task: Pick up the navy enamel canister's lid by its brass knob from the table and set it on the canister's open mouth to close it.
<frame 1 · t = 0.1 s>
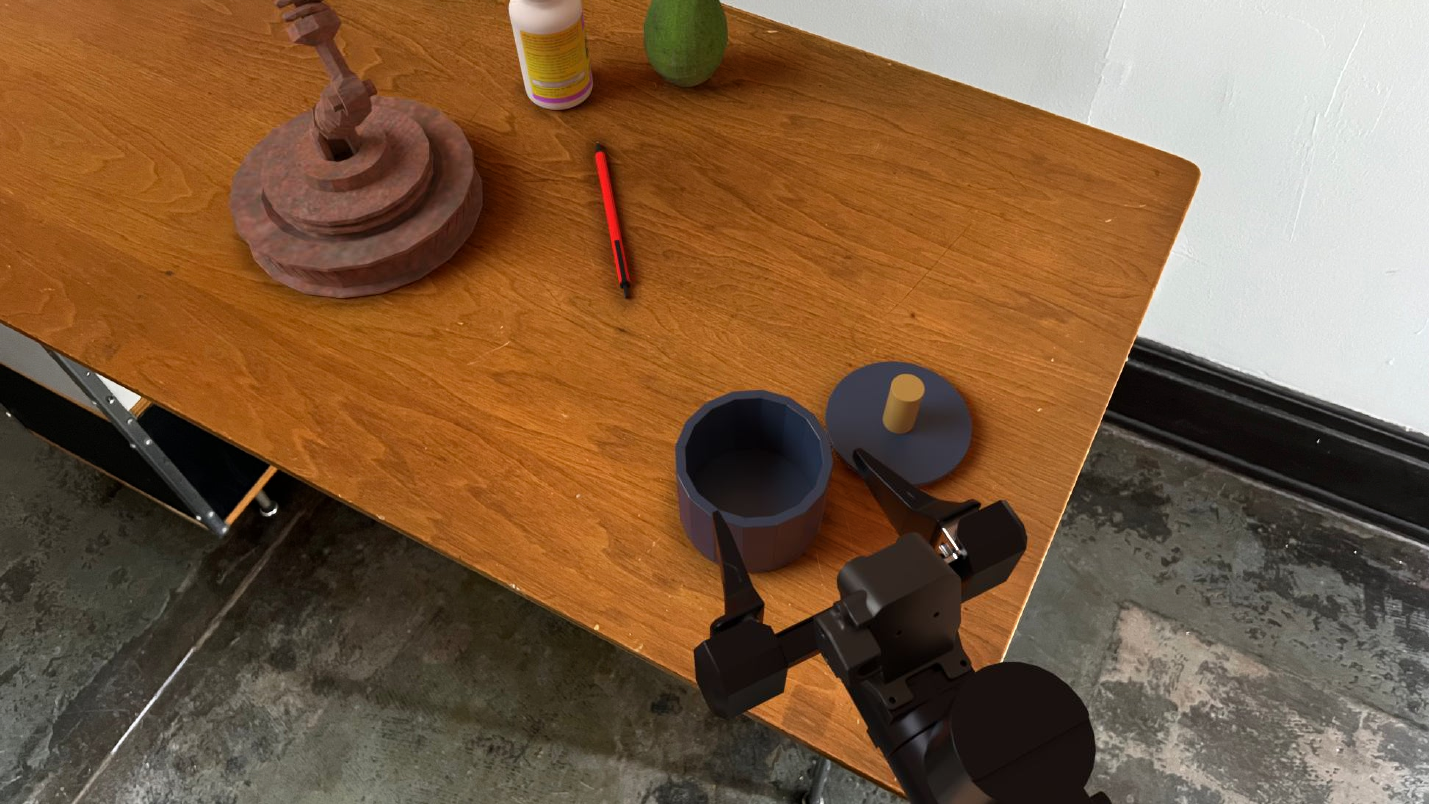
hand: (786, 482, 56), 14 cm above the table, tool horizontal, fingers open, 9 cm apart
canister lid: (897, 423, 73), point 1 cm above the table
pen: (612, 220, 86), on the table
canister: (751, 506, 70), on the table
desk lamp: (359, 198, 88), on the table
supplement bottle: (560, 92, 95), on the table
fruit: (687, 79, 96), on the table
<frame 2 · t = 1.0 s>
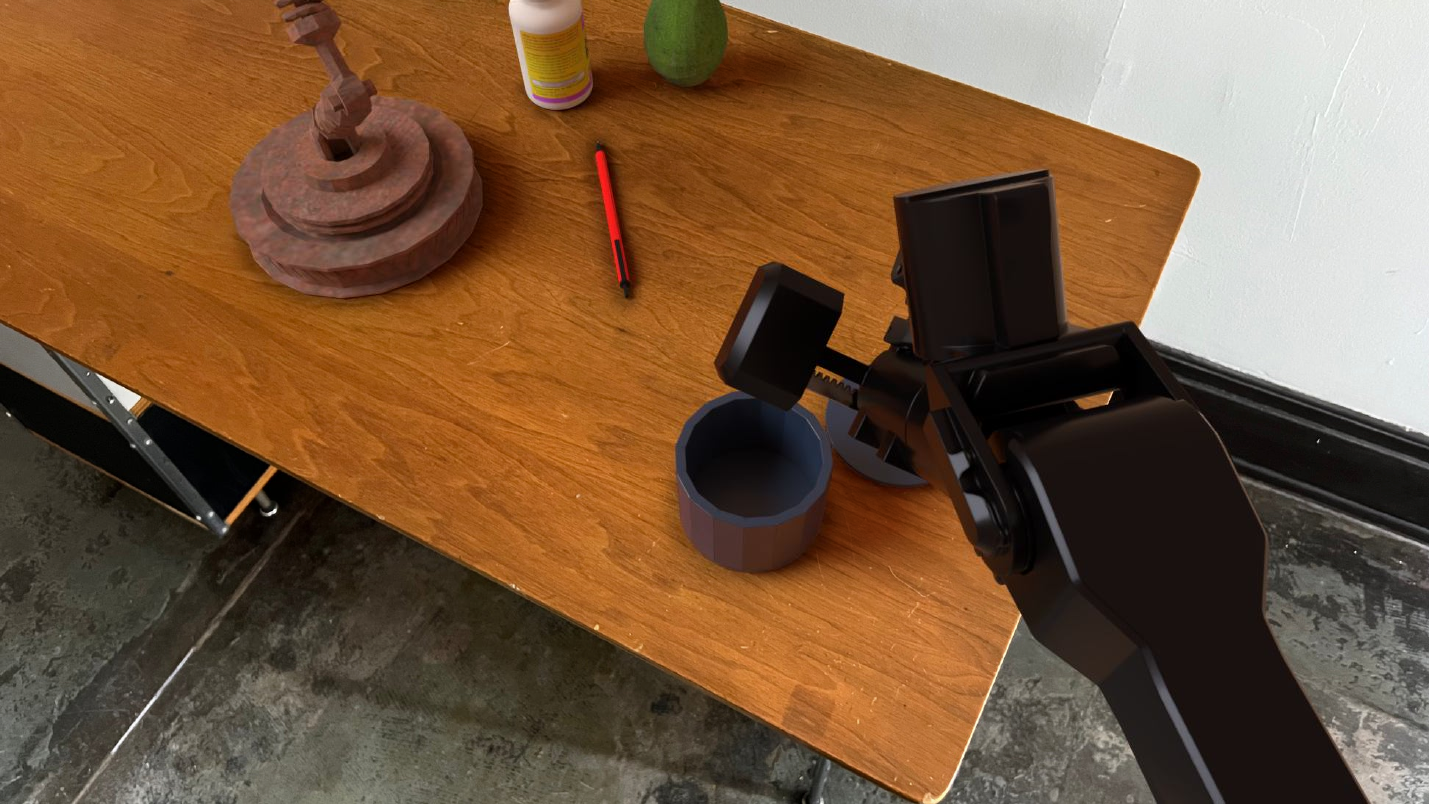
hand: (855, 366, 56), 18 cm above the table, tool tilted 45°, fingers open, 9 cm apart
nothing on the table moved.
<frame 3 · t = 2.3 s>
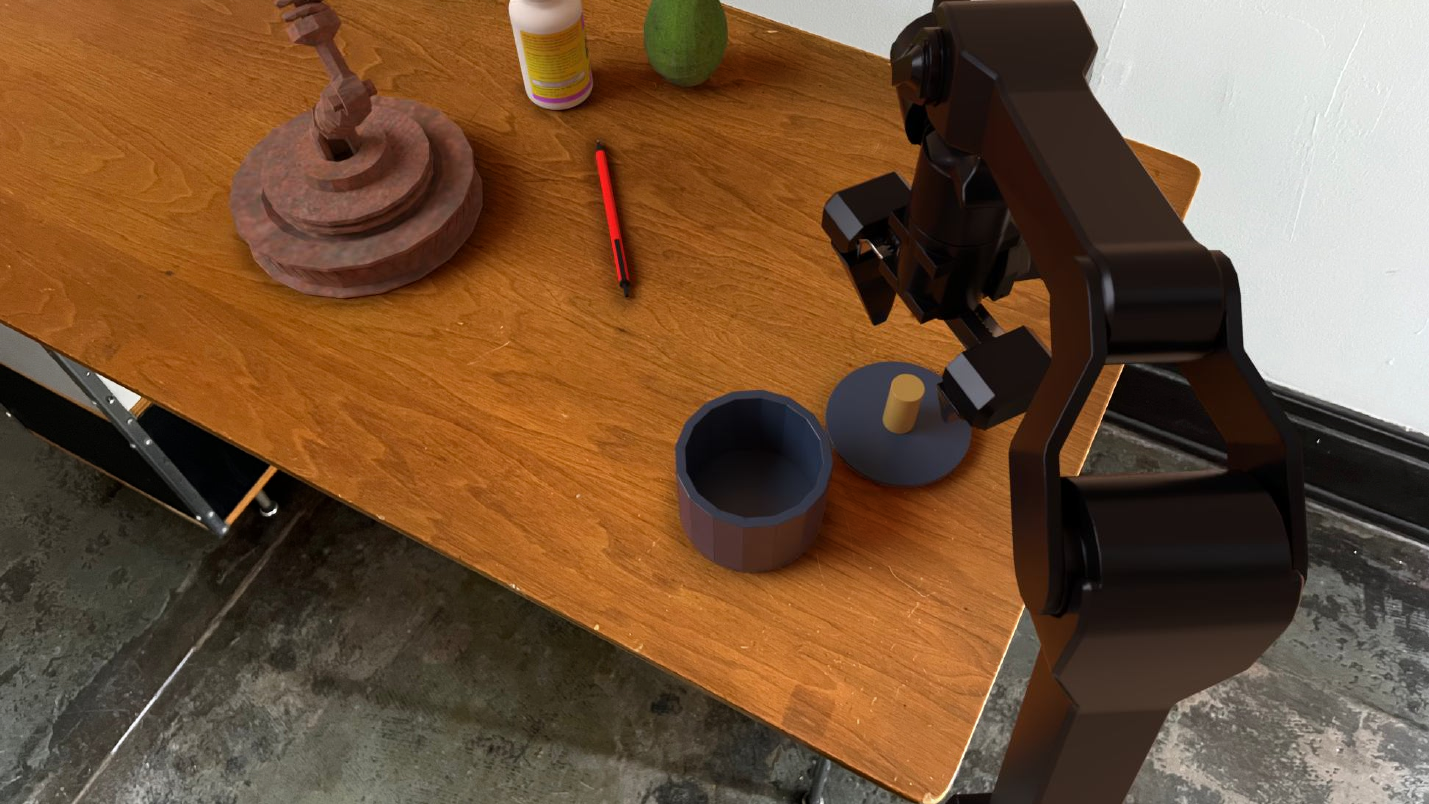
hand: (913, 369, 67), 8 cm above the table, tool pointing down, fingers open, 9 cm apart
nothing on the table moved.
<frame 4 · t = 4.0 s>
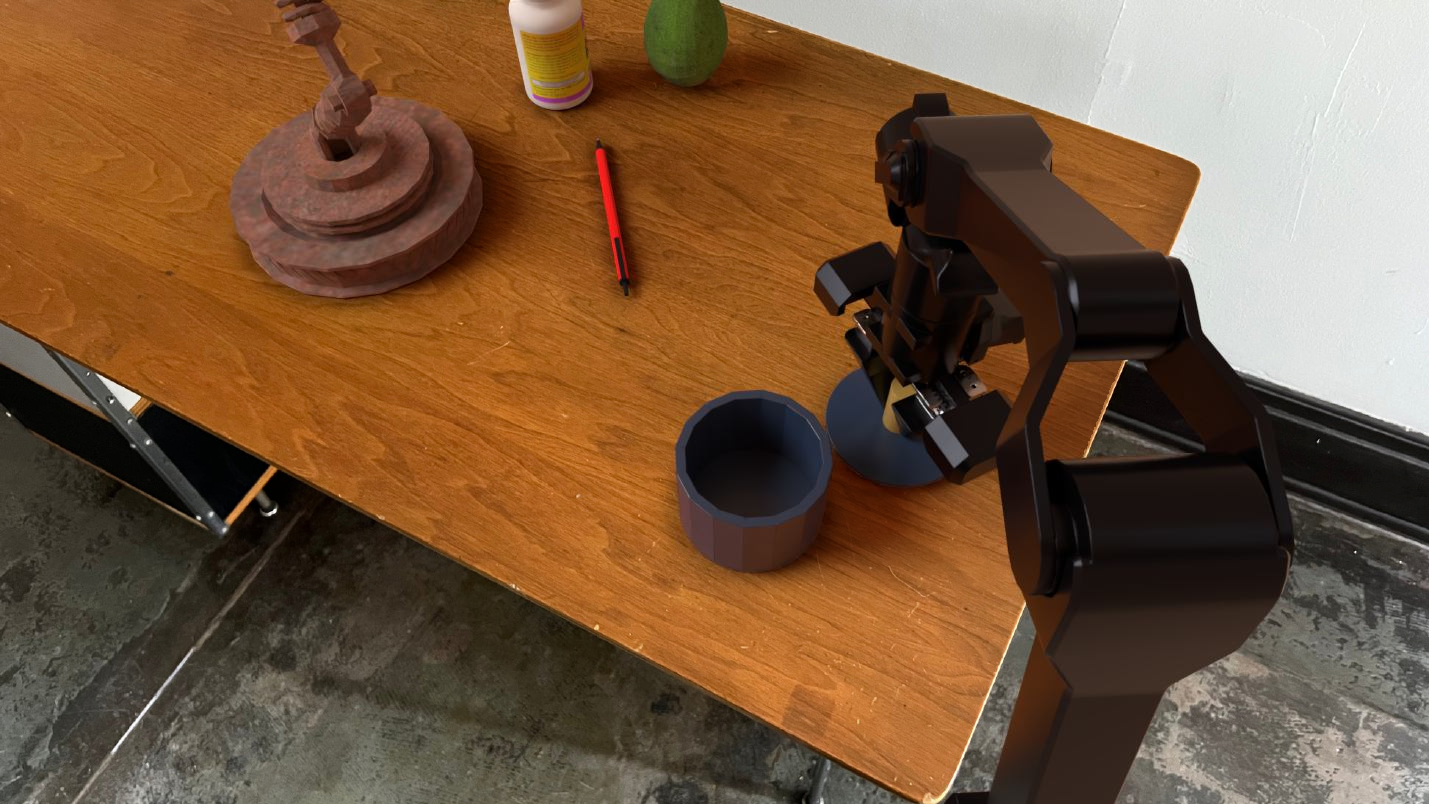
hand: (898, 419, 73), 1 cm above the table, tool pointing down, fingers closed on canister lid, 2 cm apart
canister lid: (897, 423, 73), point 1 cm above the table, touching gripper
everything else where it was.
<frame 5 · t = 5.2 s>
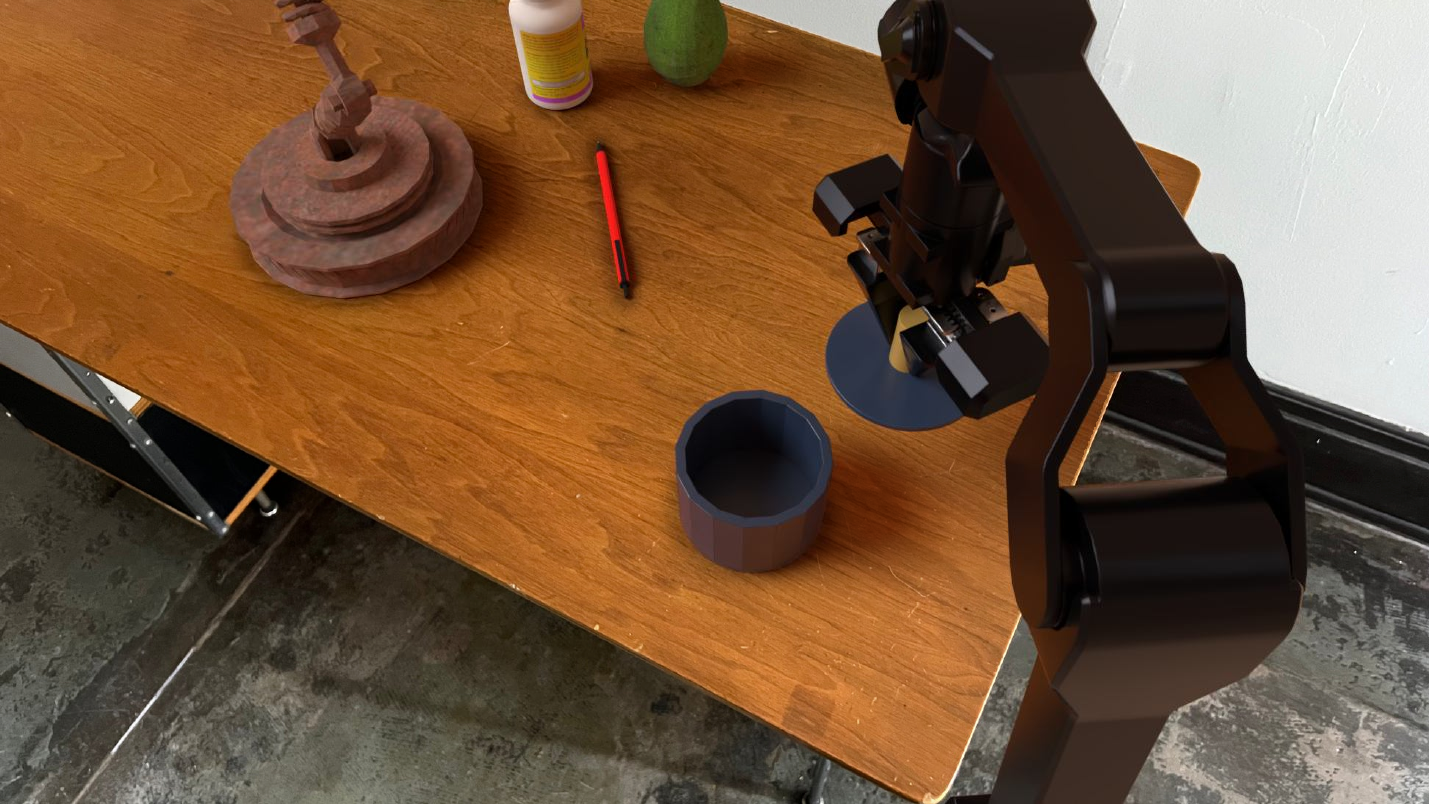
hand: (906, 358, 65), 10 cm above the table, tool pointing down, fingers closed on canister lid, 2 cm apart
canister lid: (905, 363, 66), point 9 cm above the table, touching gripper
everything else where it was.
when the fingers open (8 cm above the table, at t = 7.4 s): canister lid stays where it is, resting on canister.
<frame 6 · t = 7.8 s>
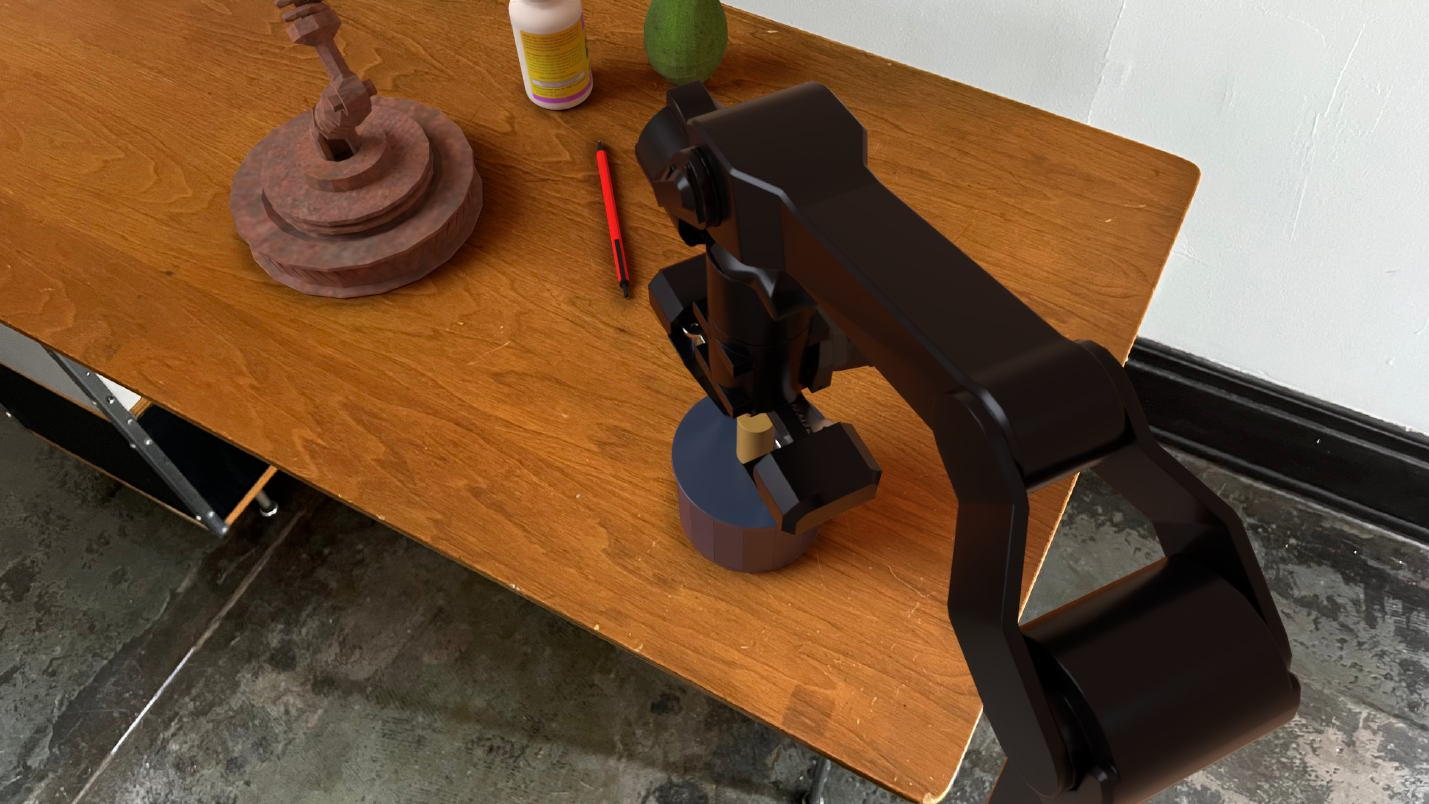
hand: (753, 450, 64), 8 cm above the table, tool pointing down, fingers open, 6 cm apart
canister lid: (754, 455, 64), point 7 cm above the table, touching canister, gripper
everything else where it was.
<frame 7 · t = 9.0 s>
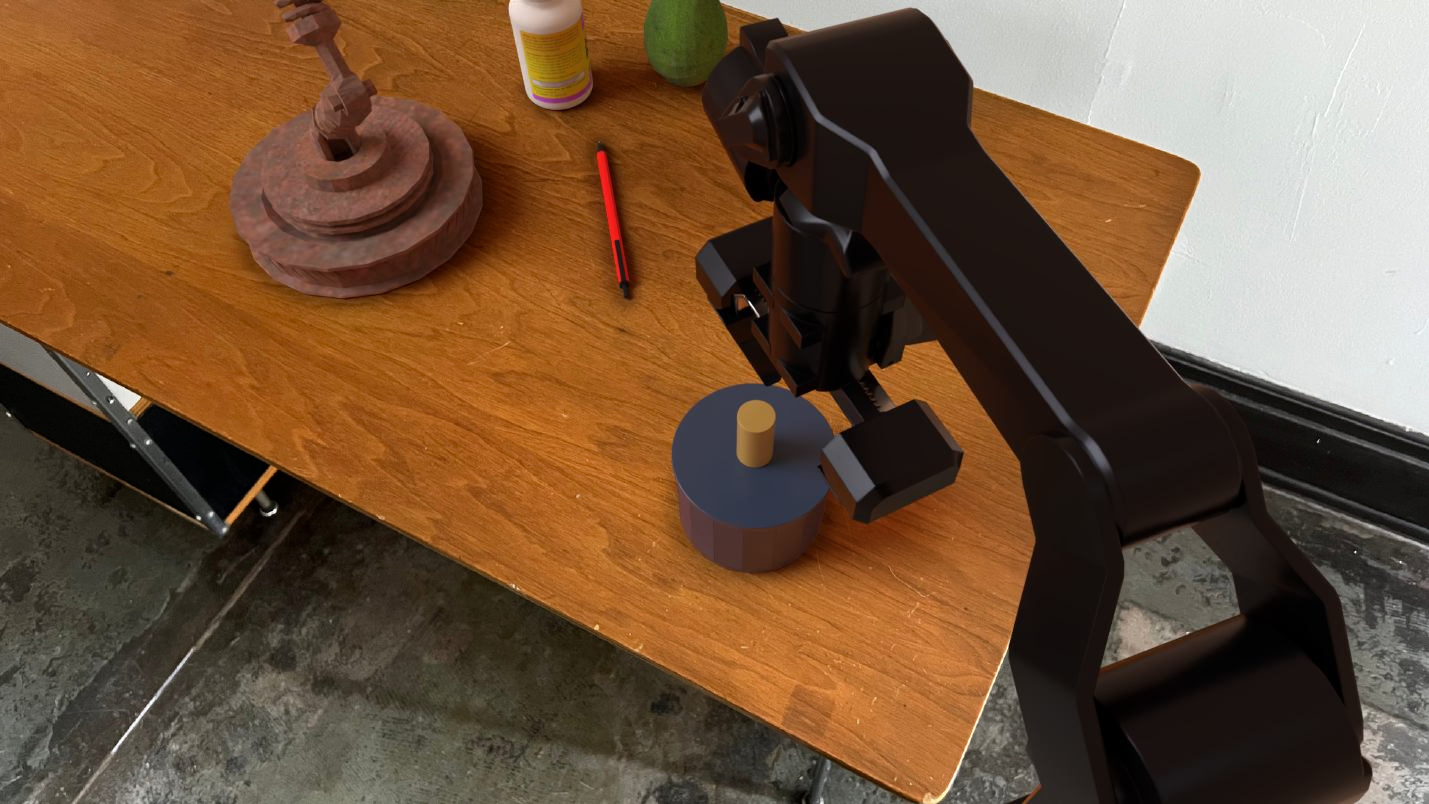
hand: (808, 437, 59), 13 cm above the table, tool pointing down, fingers open, 9 cm apart
canister lid: (754, 455, 64), point 7 cm above the table, touching canister
everything else where it was.
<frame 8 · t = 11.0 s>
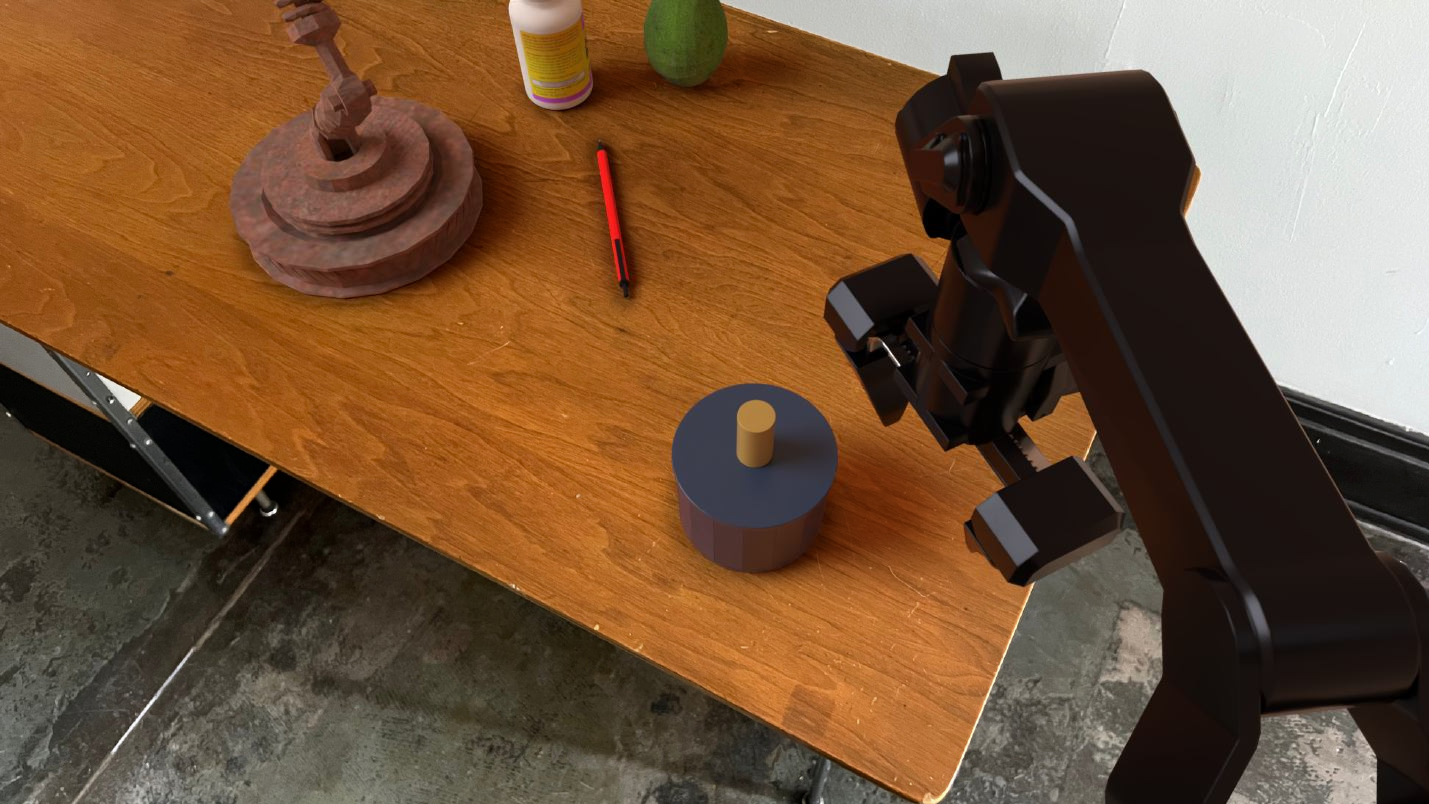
hand: (932, 482, 57), 13 cm above the table, tool pointing down, fingers open, 9 cm apart
nothing on the table moved.
at the end: canister lid 0.0 cm off-centre on the canister, point 7.5 cm above the canister's base; canister lid tilted 0°; supplement bottle moved 0.2 cm from its start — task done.
